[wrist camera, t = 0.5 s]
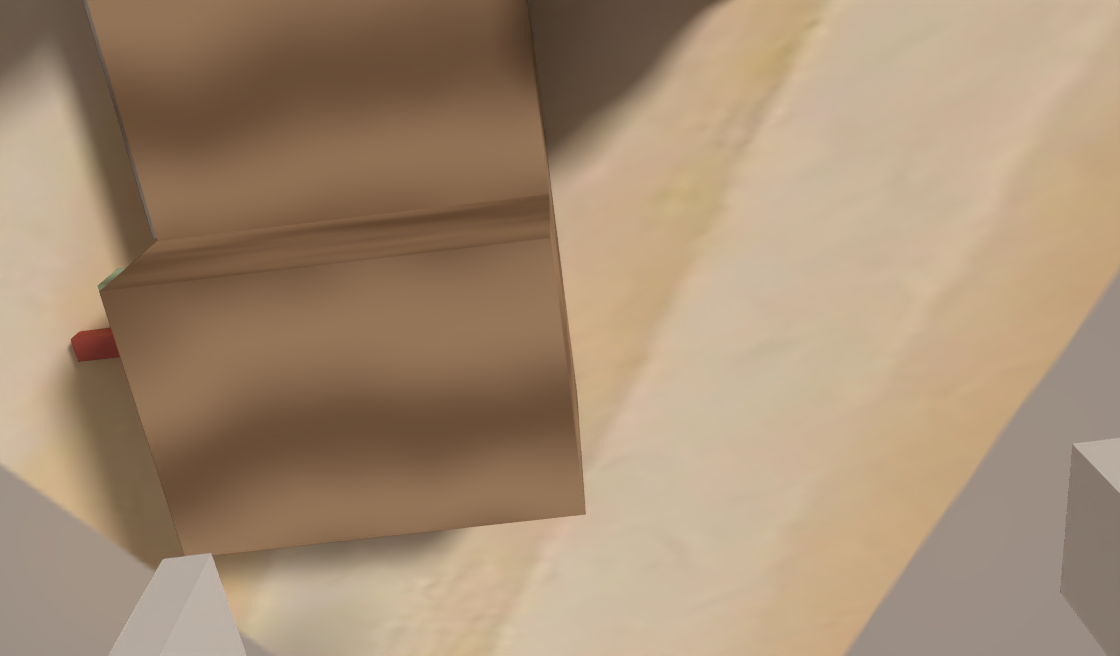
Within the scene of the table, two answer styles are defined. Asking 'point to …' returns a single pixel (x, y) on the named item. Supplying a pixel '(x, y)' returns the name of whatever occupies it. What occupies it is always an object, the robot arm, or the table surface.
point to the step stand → (340, 268)
